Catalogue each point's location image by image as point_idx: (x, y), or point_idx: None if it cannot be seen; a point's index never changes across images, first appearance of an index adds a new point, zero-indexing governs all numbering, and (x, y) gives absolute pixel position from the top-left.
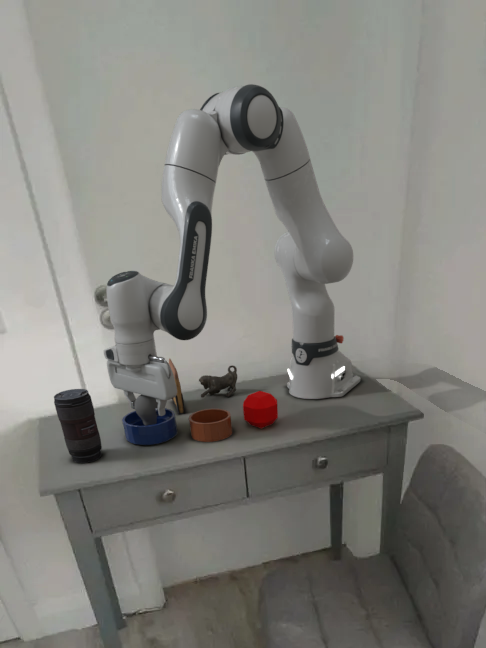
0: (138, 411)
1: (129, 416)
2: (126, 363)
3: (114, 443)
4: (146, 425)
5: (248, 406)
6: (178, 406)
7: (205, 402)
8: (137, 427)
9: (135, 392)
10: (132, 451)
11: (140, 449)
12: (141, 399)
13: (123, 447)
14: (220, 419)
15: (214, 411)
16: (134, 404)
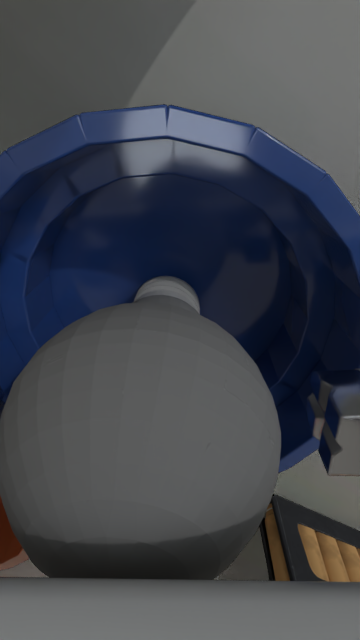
0: (116, 314)
1: (356, 302)
2: None
3: (306, 40)
4: (147, 297)
5: None
6: (278, 531)
7: (267, 574)
8: (13, 148)
9: (187, 599)
10: (49, 33)
11: (42, 107)
12: (67, 477)
13: (174, 36)
14: (7, 519)
15: (8, 551)
16: (329, 409)
